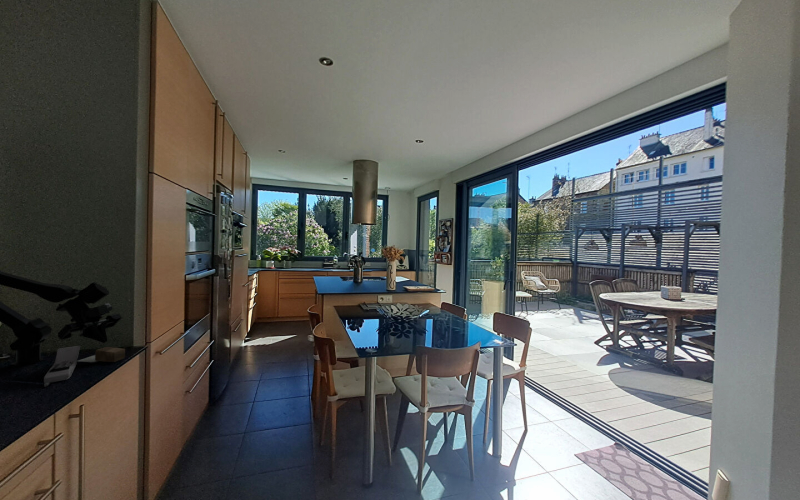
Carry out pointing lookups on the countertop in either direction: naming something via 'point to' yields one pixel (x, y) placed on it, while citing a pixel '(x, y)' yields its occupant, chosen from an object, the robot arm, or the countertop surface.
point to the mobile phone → (62, 365)
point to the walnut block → (109, 354)
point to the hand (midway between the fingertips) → (105, 341)
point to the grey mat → (88, 359)
